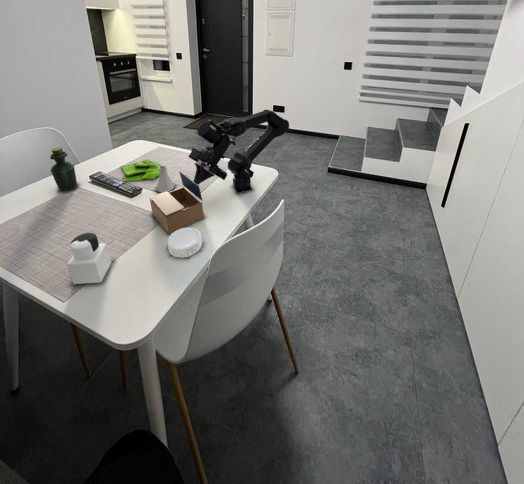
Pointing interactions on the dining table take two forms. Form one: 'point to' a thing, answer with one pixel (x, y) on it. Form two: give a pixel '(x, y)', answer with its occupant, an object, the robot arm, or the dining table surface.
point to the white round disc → (184, 242)
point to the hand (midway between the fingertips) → (194, 185)
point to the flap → (191, 185)
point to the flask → (164, 180)
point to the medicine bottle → (88, 259)
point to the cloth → (141, 171)
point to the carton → (176, 209)
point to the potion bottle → (63, 170)
